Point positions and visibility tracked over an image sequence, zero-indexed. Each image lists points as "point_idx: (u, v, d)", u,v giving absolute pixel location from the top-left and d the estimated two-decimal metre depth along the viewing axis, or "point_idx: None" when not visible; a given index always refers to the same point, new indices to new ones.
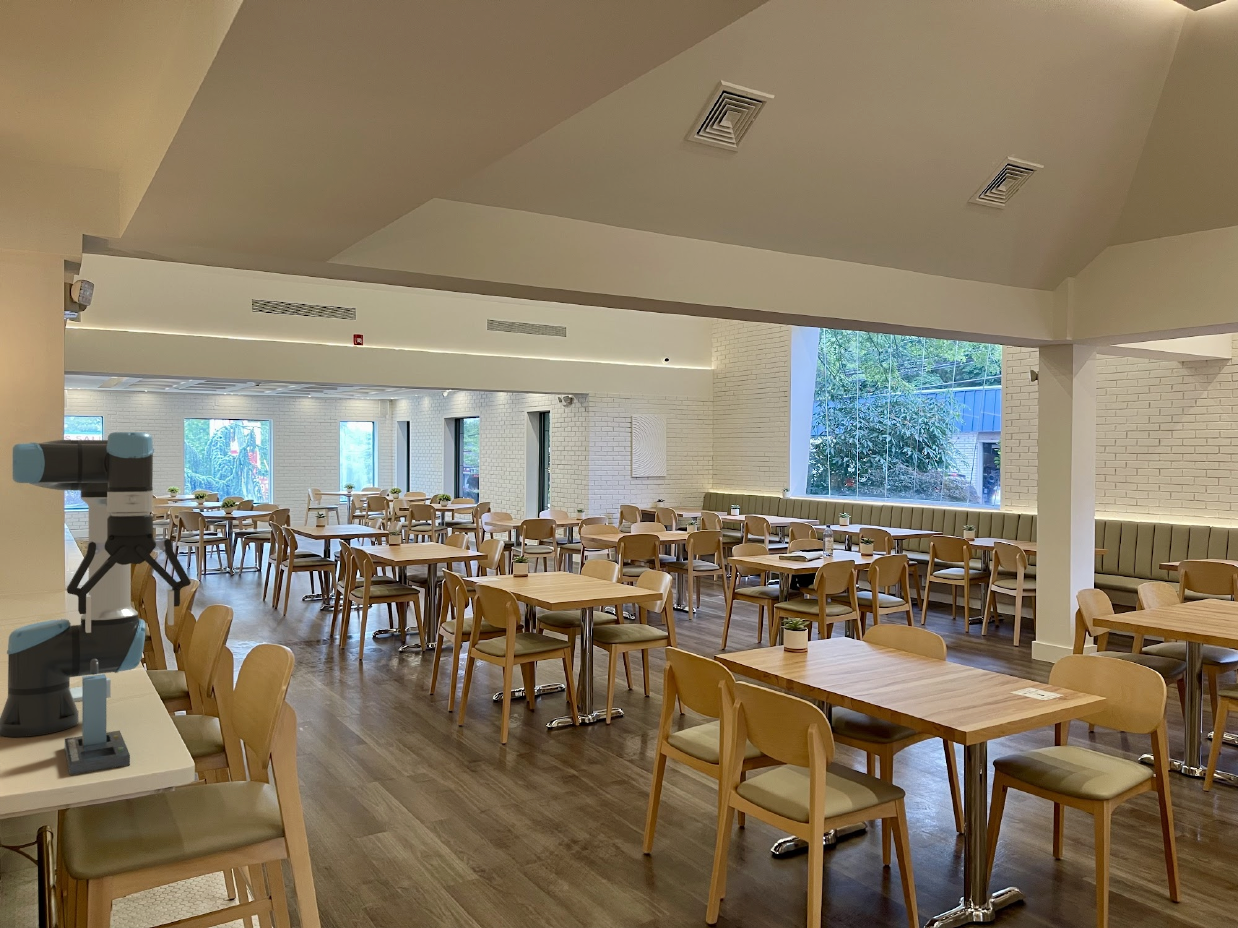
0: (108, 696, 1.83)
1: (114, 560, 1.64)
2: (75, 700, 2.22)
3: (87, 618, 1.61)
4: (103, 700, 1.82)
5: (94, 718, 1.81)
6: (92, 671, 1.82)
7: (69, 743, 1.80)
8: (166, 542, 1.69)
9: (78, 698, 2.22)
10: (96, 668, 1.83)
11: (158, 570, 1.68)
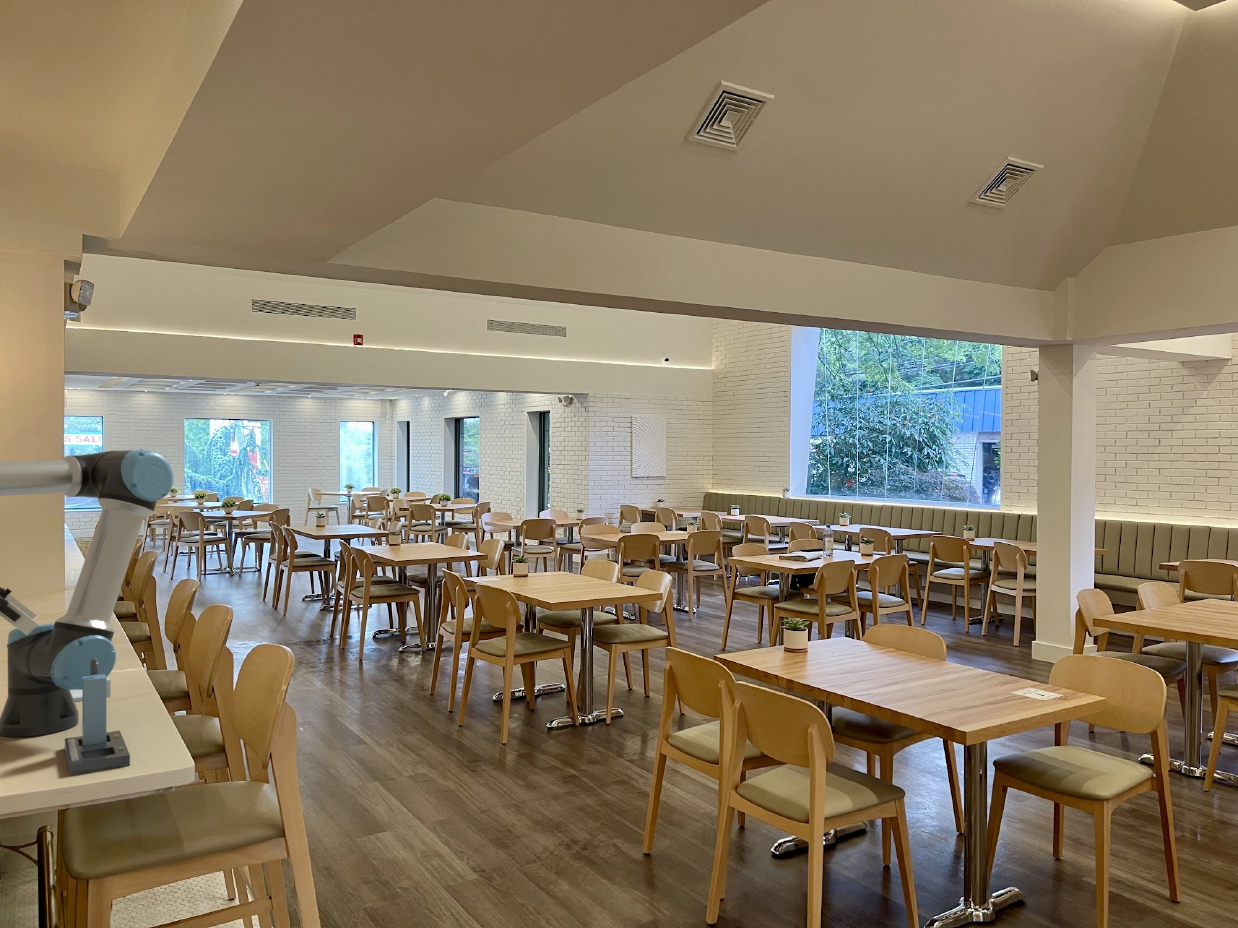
0: (108, 696, 1.83)
1: None
2: (76, 700, 2.22)
3: None
4: (103, 700, 1.82)
5: (94, 718, 1.81)
6: (92, 671, 1.82)
7: (69, 743, 1.80)
8: None
9: (79, 698, 2.22)
10: (96, 668, 1.83)
11: None
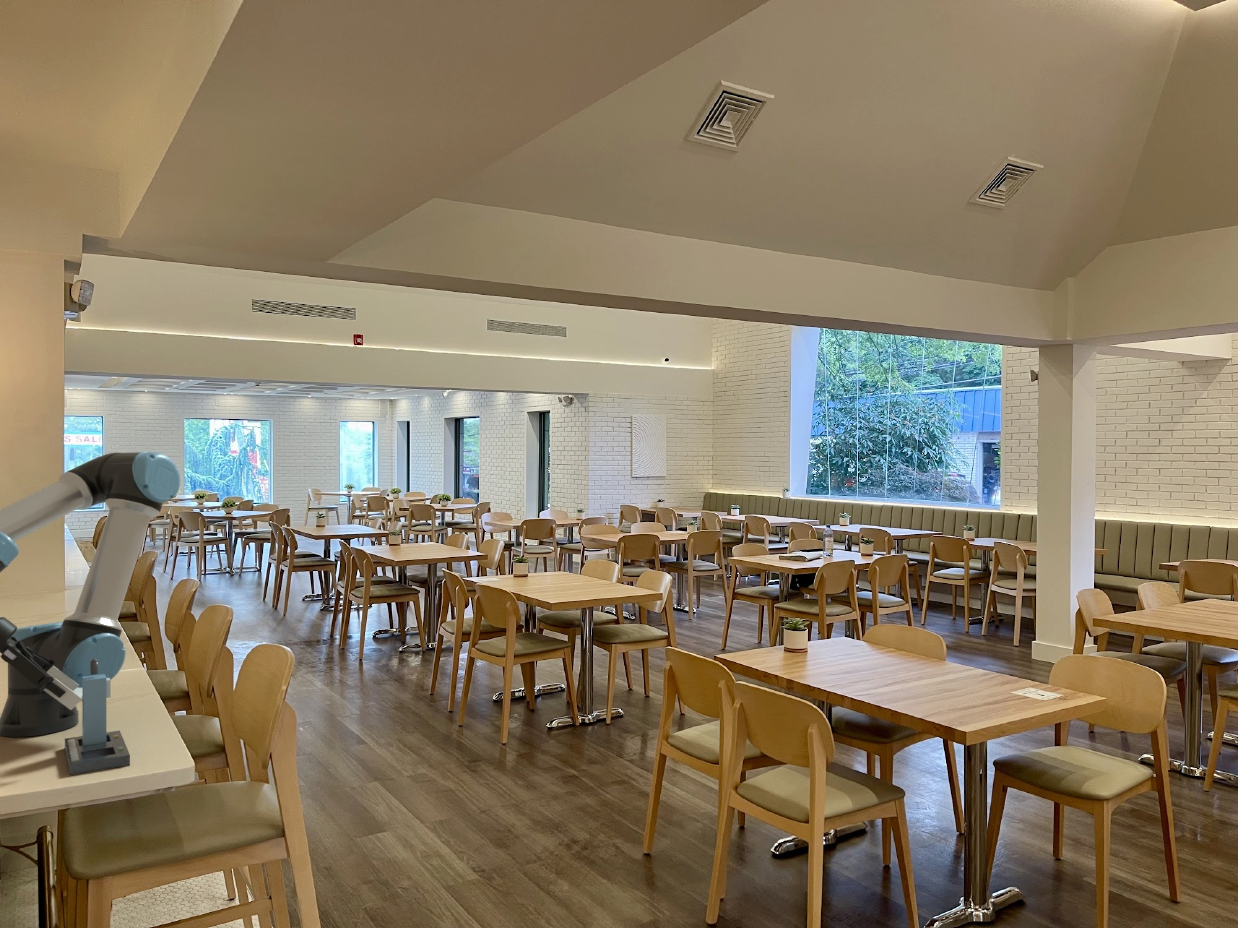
0: (108, 696, 1.83)
1: None
2: None
3: None
4: (103, 700, 1.82)
5: (94, 718, 1.81)
6: (92, 671, 1.82)
7: (69, 743, 1.80)
8: None
9: None
10: (96, 668, 1.83)
11: None
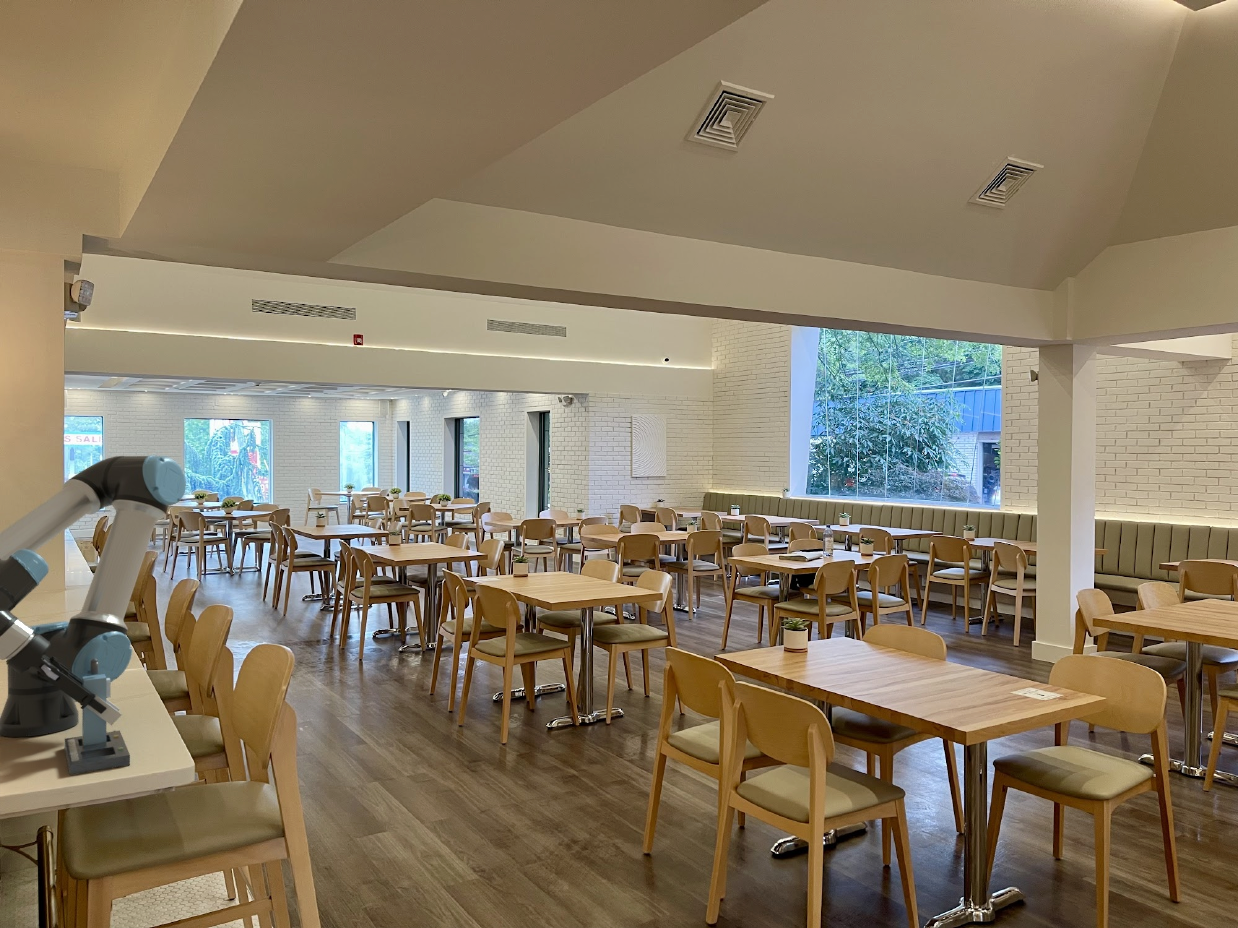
0: (108, 696, 1.83)
1: None
2: None
3: None
4: None
5: (94, 718, 1.81)
6: (92, 671, 1.82)
7: (69, 743, 1.80)
8: None
9: None
10: (96, 668, 1.83)
11: None
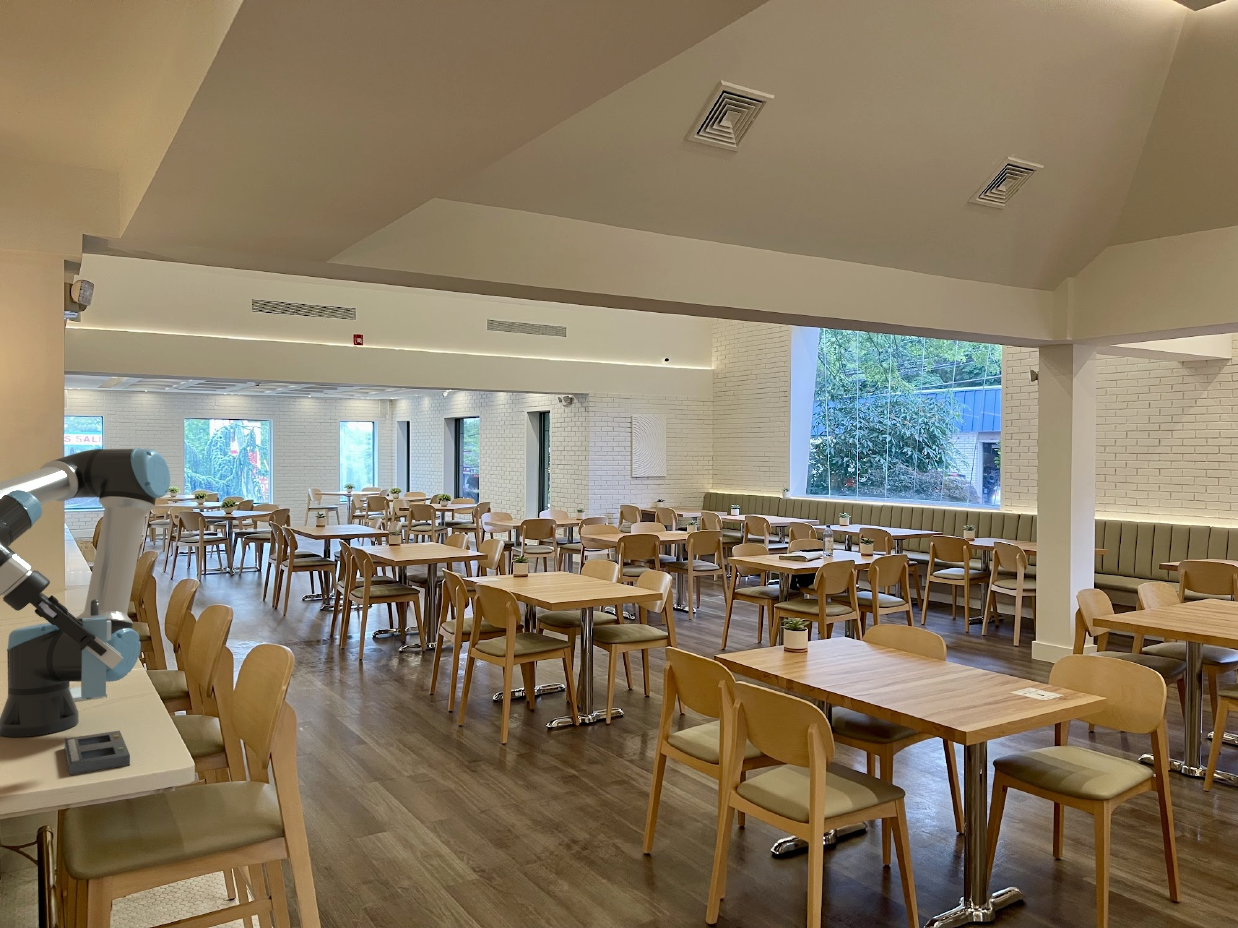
0: (108, 639, 1.75)
1: None
2: (78, 699, 2.22)
3: None
4: None
5: (93, 661, 1.73)
6: (92, 612, 1.74)
7: (69, 743, 1.80)
8: None
9: (81, 697, 2.23)
10: (96, 609, 1.74)
11: None
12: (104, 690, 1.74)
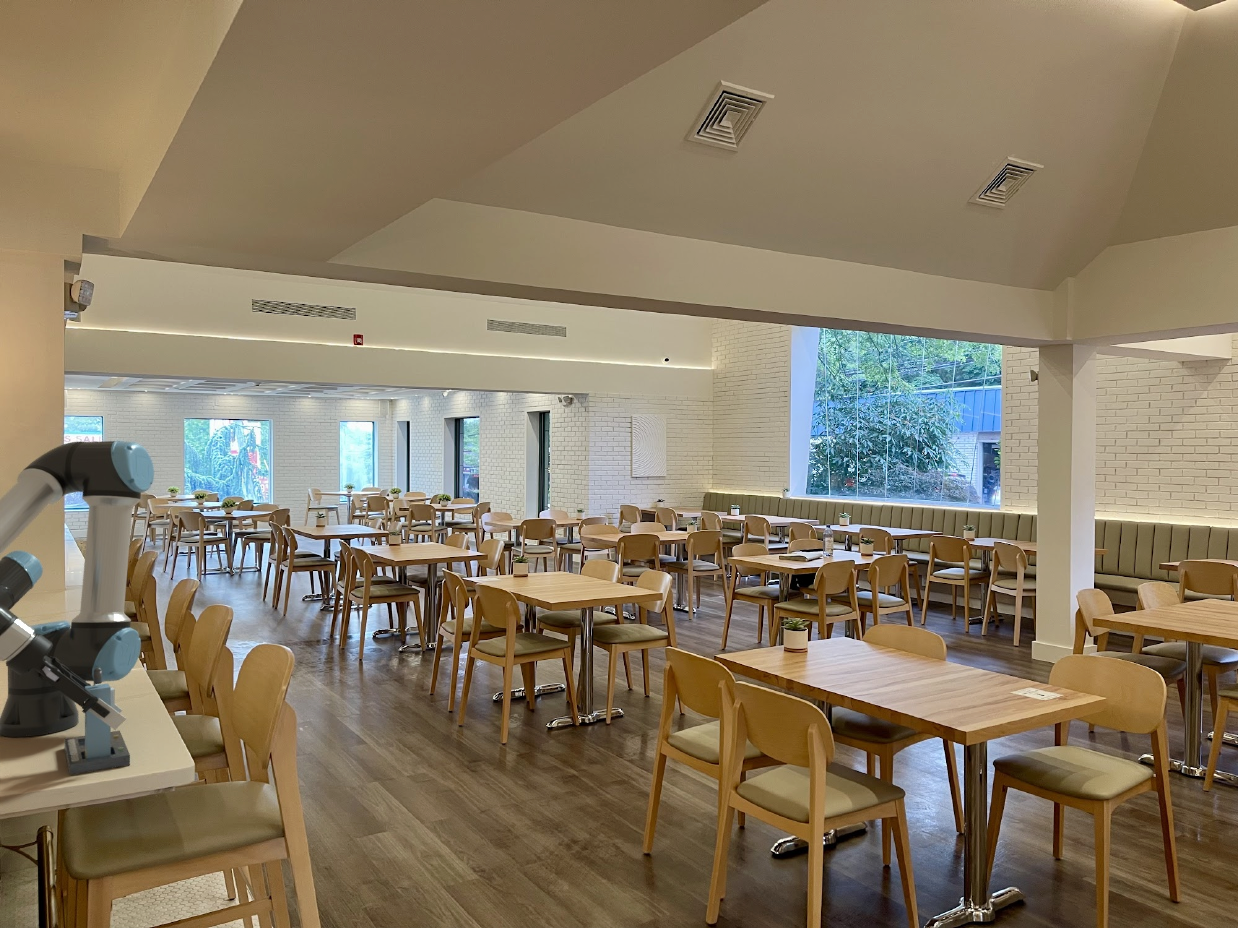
0: (112, 706, 1.75)
1: None
2: None
3: None
4: None
5: (98, 730, 1.73)
6: (95, 680, 1.74)
7: (69, 743, 1.80)
8: None
9: None
10: (100, 677, 1.74)
11: None
12: None
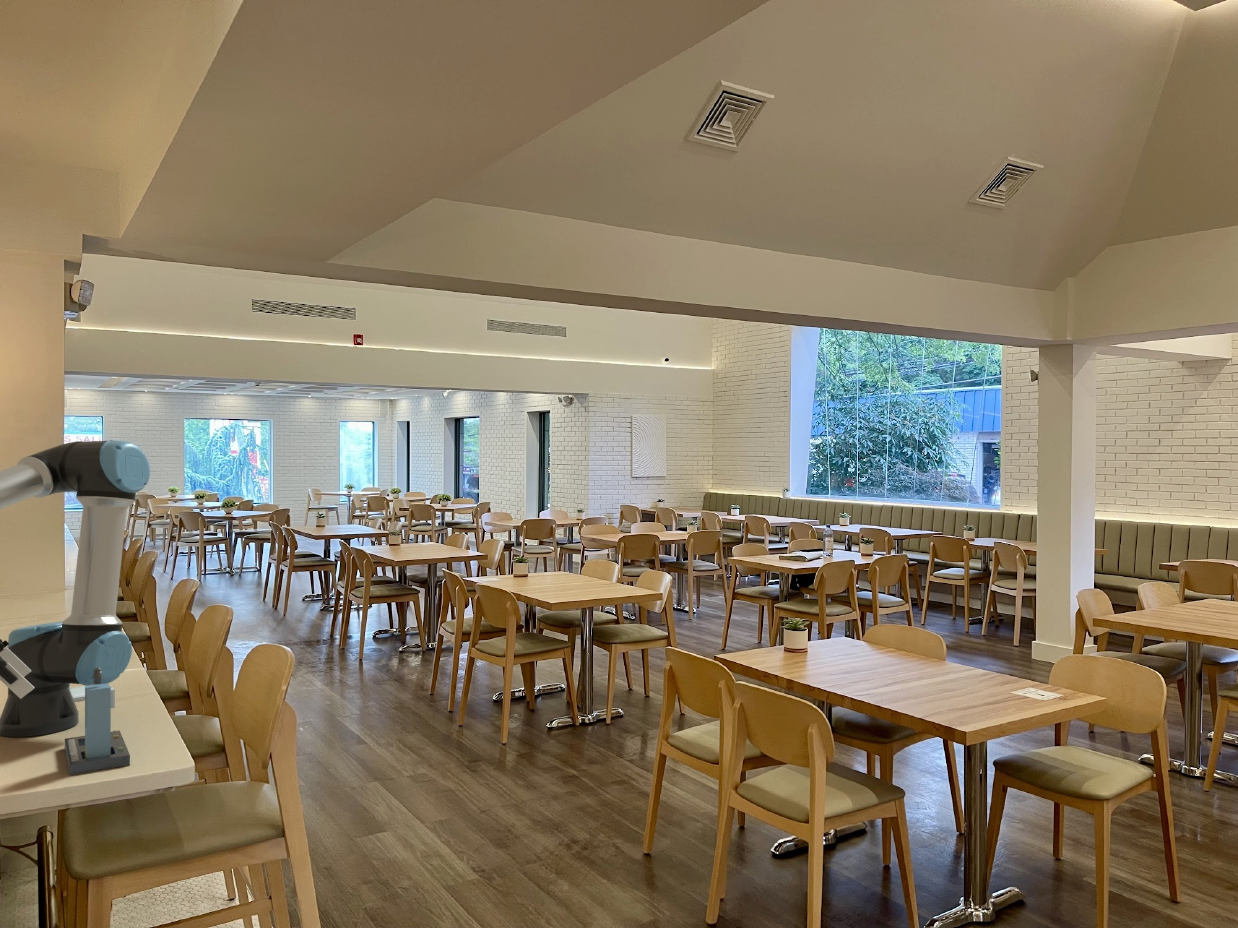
0: (112, 706, 1.75)
1: None
2: (80, 699, 2.23)
3: None
4: (107, 711, 1.74)
5: (98, 730, 1.73)
6: (95, 680, 1.74)
7: (69, 743, 1.80)
8: None
9: (83, 697, 2.23)
10: (100, 677, 1.74)
11: None
12: None
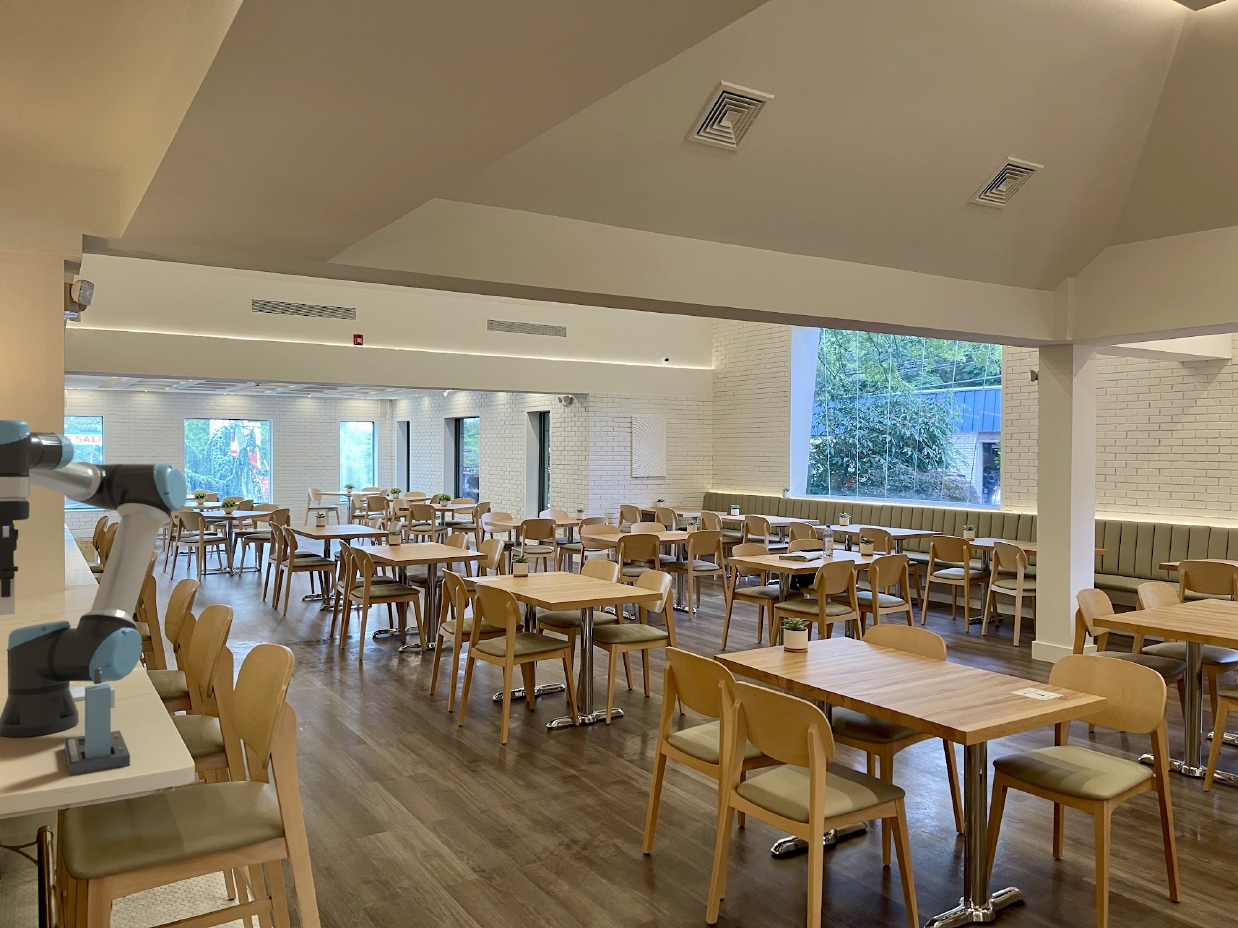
0: (112, 706, 1.75)
1: None
2: (80, 699, 2.23)
3: None
4: (107, 711, 1.74)
5: (98, 730, 1.73)
6: (95, 680, 1.74)
7: (69, 743, 1.80)
8: None
9: (83, 697, 2.23)
10: (100, 677, 1.74)
11: None
12: None
